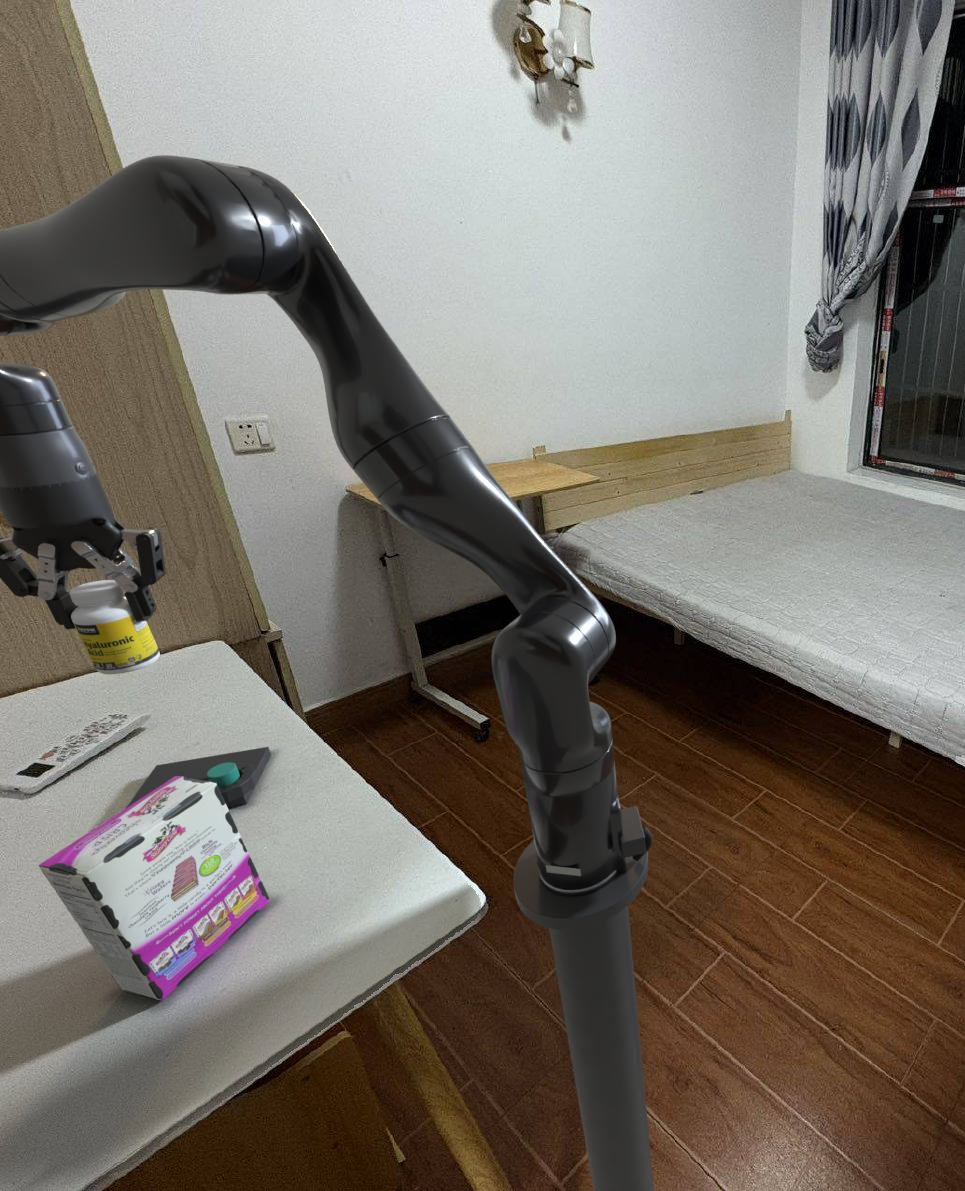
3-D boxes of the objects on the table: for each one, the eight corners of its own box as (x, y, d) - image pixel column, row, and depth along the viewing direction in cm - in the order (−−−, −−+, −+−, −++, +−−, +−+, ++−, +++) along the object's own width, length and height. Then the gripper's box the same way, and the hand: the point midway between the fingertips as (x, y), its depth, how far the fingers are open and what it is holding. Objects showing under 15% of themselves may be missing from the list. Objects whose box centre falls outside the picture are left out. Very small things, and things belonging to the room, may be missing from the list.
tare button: (243, 771, 82) (239, 760, 81) (235, 785, 79) (231, 774, 79) (216, 775, 81) (211, 764, 80) (207, 790, 78) (202, 779, 78)
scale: (279, 753, 89) (272, 735, 88) (253, 807, 80) (245, 788, 79) (160, 773, 84) (151, 755, 83) (118, 832, 75) (108, 813, 74)
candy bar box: (232, 892, 69) (176, 772, 62) (273, 901, 68) (221, 780, 61) (115, 993, 59) (32, 863, 52) (161, 1004, 58) (84, 874, 51)
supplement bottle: (86, 679, 71) (46, 600, 67) (111, 655, 76) (75, 579, 72) (149, 671, 73) (114, 593, 69) (170, 648, 78) (138, 574, 74)
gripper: (150, 462, 71) (204, 600, 78) (-30, 468, 66) (45, 616, 73) (116, 479, 64) (177, 628, 72) (-86, 488, 59) (2, 648, 67)
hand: (110, 621), depth 72 cm, fingers closed on supplement bottle, 5 cm apart
